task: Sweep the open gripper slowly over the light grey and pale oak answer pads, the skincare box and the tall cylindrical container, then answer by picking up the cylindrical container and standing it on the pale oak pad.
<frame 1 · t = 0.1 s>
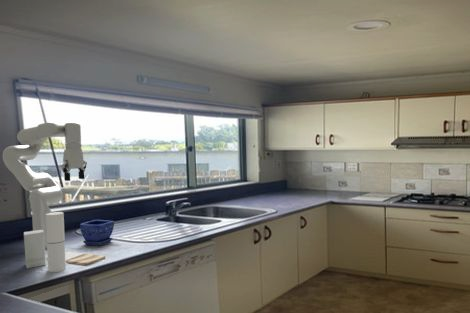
hand: (74, 179, 210), 37 cm above the countertop, tool pointing down, fingers open, 9 cm apart
flower pot: (98, 243, 225), on the countertop
skincare box: (35, 265, 188), on the countertop
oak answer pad: (86, 260, 194), on the countertop
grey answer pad: (65, 257, 199), on the countertop
cylindrical container: (57, 269, 181), on the countertop
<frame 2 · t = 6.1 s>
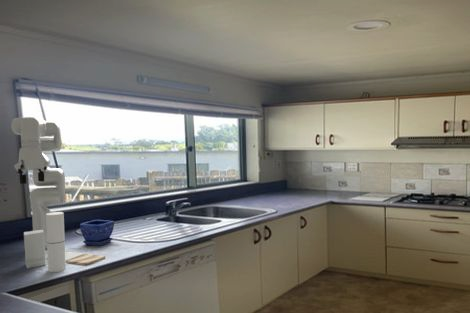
hand: (32, 182, 186), 38 cm above the countertop, tool pointing down, fingers open, 9 cm apart
nothing on the countertop moved.
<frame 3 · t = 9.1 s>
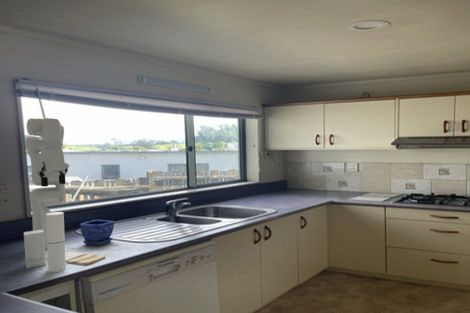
hand: (53, 185, 179), 38 cm above the countertop, tool pointing down, fingers open, 9 cm apart
nothing on the countertop moved.
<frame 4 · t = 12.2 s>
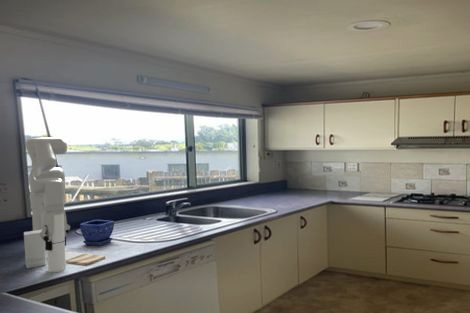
hand: (56, 247, 181), 10 cm above the countertop, tool pointing down, fingers closed on cylindrical container, 7 cm apart
cylindrical container: (57, 269, 181), on the countertop, touching gripper
everything else where it was.
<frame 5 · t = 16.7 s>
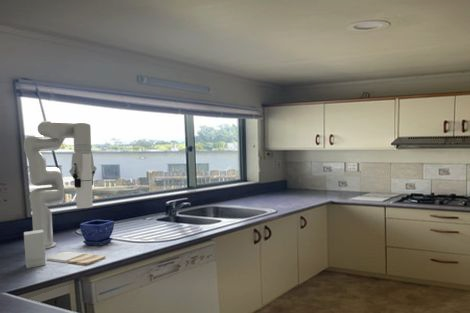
hand: (83, 186, 192), 35 cm above the countertop, tool pointing down, fingers closed on cylindrical container, 7 cm apart
cylindrical container: (84, 207, 193), point 25 cm above the countertop, touching gripper
everything else where it was.
when the fingers open (12 cm above the countertop, at t = 21.6 s): cylindrical container drops 1 cm, resting on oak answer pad.
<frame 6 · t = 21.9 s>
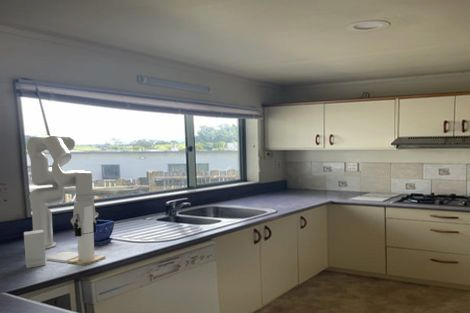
hand: (85, 233, 193), 13 cm above the countertop, tool pointing down, fingers open, 9 cm apart
cylindrical container: (86, 258, 194), point 1 cm above the countertop, touching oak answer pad
everything else where it was.
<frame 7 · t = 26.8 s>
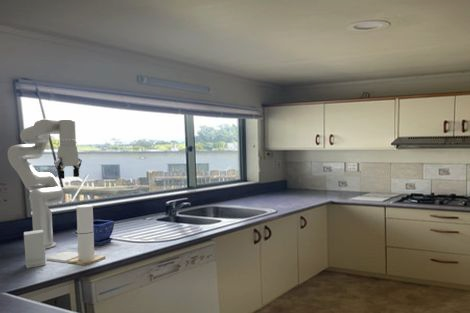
hand: (69, 177, 206), 38 cm above the countertop, tool pointing down, fingers open, 9 cm apart
nothing on the countertop moved.
at the end: cylindrical container inside the target area on the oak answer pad (0.2 cm from its centre), point 0.8 cm above the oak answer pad's base; cylindrical container tilted 0°; the gripper is holding nothing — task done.
